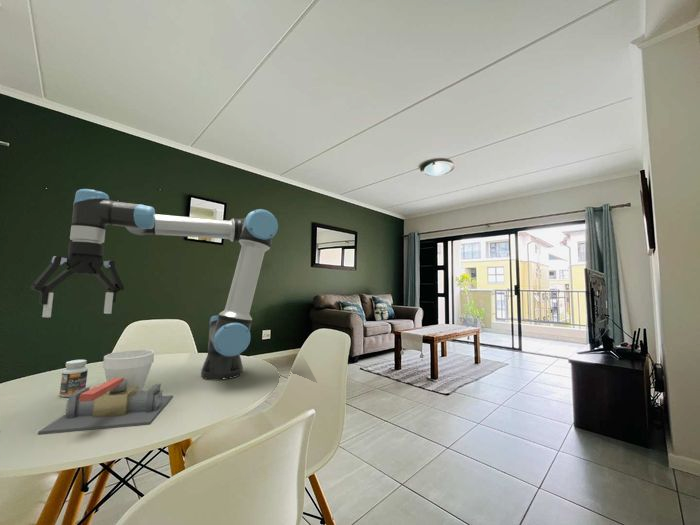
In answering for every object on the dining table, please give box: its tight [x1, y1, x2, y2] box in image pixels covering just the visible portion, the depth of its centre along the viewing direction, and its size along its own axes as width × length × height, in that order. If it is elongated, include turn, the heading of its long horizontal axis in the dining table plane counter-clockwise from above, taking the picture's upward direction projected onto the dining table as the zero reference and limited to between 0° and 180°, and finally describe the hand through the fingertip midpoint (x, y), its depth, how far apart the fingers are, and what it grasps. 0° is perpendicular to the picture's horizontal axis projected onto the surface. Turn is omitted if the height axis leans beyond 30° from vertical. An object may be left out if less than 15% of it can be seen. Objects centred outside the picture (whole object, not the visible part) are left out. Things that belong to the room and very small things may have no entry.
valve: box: [64, 383, 163, 419], centre depth 76 cm, size 20×7×6 cm, turn 106°
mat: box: [37, 394, 174, 435], centre depth 76 cm, size 22×18×1 cm
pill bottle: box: [59, 359, 89, 398], centre depth 88 cm, size 6×6×10 cm
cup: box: [102, 349, 155, 391], centre depth 85 cm, size 12×12×14 cm
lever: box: [79, 378, 128, 402], centre depth 71 cm, size 14×4×3 cm, turn 11°
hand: (79, 315), depth 81 cm, fingers open, 13 cm apart
